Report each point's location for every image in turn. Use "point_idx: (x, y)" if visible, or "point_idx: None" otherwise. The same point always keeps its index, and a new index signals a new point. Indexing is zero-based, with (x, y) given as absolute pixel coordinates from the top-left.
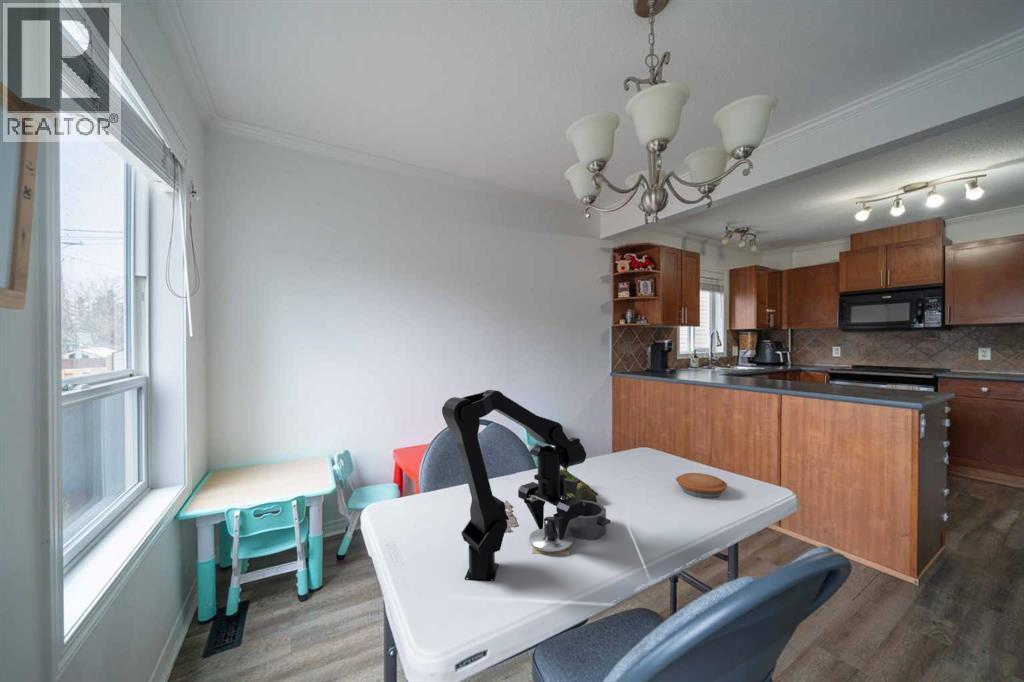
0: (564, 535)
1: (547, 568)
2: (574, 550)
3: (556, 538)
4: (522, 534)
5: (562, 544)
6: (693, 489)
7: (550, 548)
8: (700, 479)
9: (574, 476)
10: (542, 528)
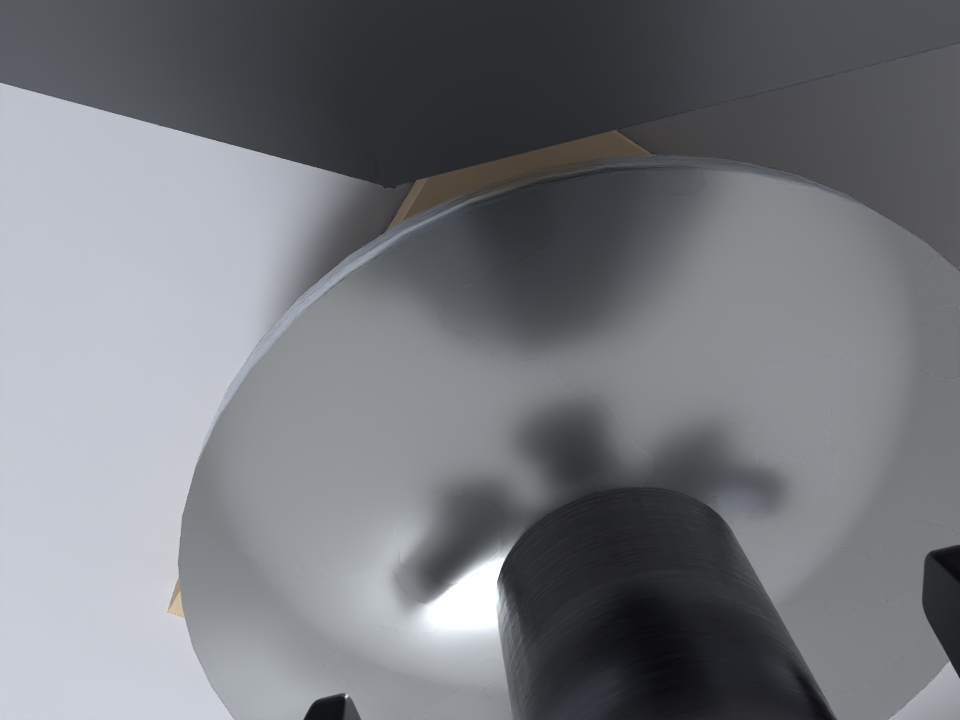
0: (704, 335)
1: (943, 690)
2: (905, 211)
3: (741, 549)
4: (21, 687)
5: (934, 521)
6: None
7: (886, 706)
8: None
9: None
10: (346, 694)
